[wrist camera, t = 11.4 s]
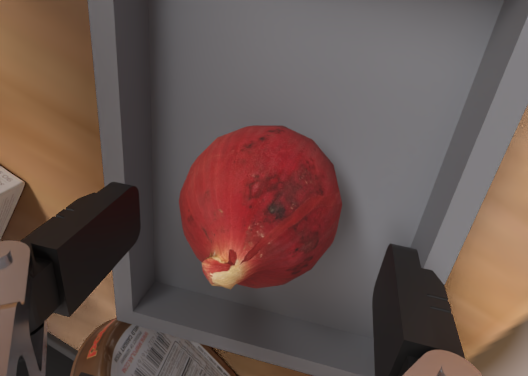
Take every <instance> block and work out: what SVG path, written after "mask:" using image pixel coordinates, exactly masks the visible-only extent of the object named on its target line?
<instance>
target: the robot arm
mask: <svg viewBox="0 0 528 376" xmlns="http://www.w3.org/2000/svg"><path fill="white" fill-rule="evenodd" d="M140 229H141V222H140V202H139V191H138V188H137V187H136V186H132V185H128V184H123V183H118V182H111V183H109V184H108V185H107V186H105V187H104V188H103V189H101V190H100V191H99V192H97V193H92V194H89V195H87V196H84V197H82V198H79V199H77V200H76V201H74V202H73V203H72V204H70V205H69V206H68V207H66V210H65V209H63V210H62V211H61V212H59V213H58V214H57V215H56V217H52V218H51V219H50V220H48V221H47V222H46V223H44V224H43V225H42V226H40V227H39V228H37V229H36V230H35V231H33V232H32V233H31V234H29V235H28V236H26V237H25V238H24V239H22V240H21V241H20V242H19V241H12V240H8V241H0V376H45V373H46V352H47V330H48V326H47V321H46V319H47V318H48V317H49V316H50V315H51V314H52V313H57V314H60V315H64V316H67V317H70V316H71V315H72V314H73V312H74V311H75V310H76V309H77V308H78V307H79V306H80V305H81V304H82V302H83V301H84V300H85V299H86V298H87V297H88V296H89V295H90V294H91V292H92V291H93V290H94V289H95V288H96V287H97V286H98V285H99V284H100V282H101V281H102V280H103V279H104V278H105V277H106V276H107V275H108V274H109V272H110V271H111V270H112V269H113V268H114V267H115V266H116V265H117V263H118V262H119V261H120V260H121V259H122V258H123V257H124V256H125V255H126V253H127V252H128V251H129V250H130V249H131V248H132V247H133V246H134V244H135V243H136V241H137V240H138V237H139V234H140ZM372 312H373V338H374V364H375V376H483V375H482V374H481V373H480V372H479V371H478V369H477V368H476V367H474V366H473V365H472V364H471V363H470V362H469V361H467V360H466V359H465V357H464V353H463V350H462V346H461V343H460V339H459V336H458V332H457V329H456V325H455V322H454V318H453V315H452V314H451V308H450V304H449V302H448V297H447V294H446V290H445V287H444V284H443V283H442V282H441V280H440V279H439V278H438V277H437V275H436V274H435V273H434V271H433V270H429V269H424V268H421V264H420V260H419V255H418V251H417V249H414V248H409V247H405V246H400V245H396V244H391V243H390V244H389V246H388V248H387V250H386V253H385V256H384V259H383V262H382V265H381V268H380V271H379V274H378V277H377V280H376V283H375V286H374V291H373V298H372ZM79 376H94V375H90V374H87V373H84V372H81V373H80V374H79Z"/></svg>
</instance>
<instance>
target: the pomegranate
mask: <svg viewBox="0 0 528 376" xmlns="http://www.w3.org/2000/svg"><path fill="white" fill-rule="evenodd" d="M179 207H180V214H181V221H182V228H183V232H184V235H185V237H186V239H187V241H188V243H189V244H190V246H191V248H192V250H193V252H194V254H195V255H196V257H197V258H198V259H199V260H200V261H201V262H202V270H203V273H204V275H205V276H206V278H207V280H208V281H209V282H210V284H211V285H212V286H221V287H224V288H227V289H230V290H231V289H232V288H233V286H234V285H236V284H238V285H242V286H247V287H251V288H256V289H257V288H265V287H272V286H279V285H284V284H286V283H288V282H290V281H291V280H293V279H295V278H297V277H299V276H300V275H302V274H304V273H306V272H308V271H309V270H311V269H312V268H313V267H314V265H315V264H316V263H317V261H318V260H319V259H320V258H321V257H322V255H323V254H324V253H325V252H326V251H327V249H328V248H329V247H330V246H331V244H332V243H333V241H334V238H335V235H336V232H337V228H338V223H339V218H340V213H341V209H342V200H341V196H340V191H339V187H338V182H337V178H336V173H335V169H334V165H333V163H332V162H331V161H330V160H329V159H328V157H327V156H326V155H325V154H324V153H323V151H322V150H321V149H320V148H319V147H318V145H317V144H316V143H315V142H314V141H313V140H312V139H310V138H308V137H306V136H304V135H302V134H300V133H298V132H295V131H293V130H291V129H289V128H287V127H285V126H260V125H253V126H247V127H244V128H241V129H238V130H236V131H233V132H230V133H228V134H225V135H223V136H220V137H217V138H216V139H215V140H214V141H213V142H212V143H211V144H210V145H209V146H208V147H207V148H206V149H205V150H204V151H203V152H202V153H201V154H200V155H199V156H198V157H197V159H196V160H195V161H194V163H193V164H192V166H191V168H190V170H189V172H188V175H187V177H186V180H185V182H184V184H183V187H182V189H181V191H180V197H179Z"/></svg>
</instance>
